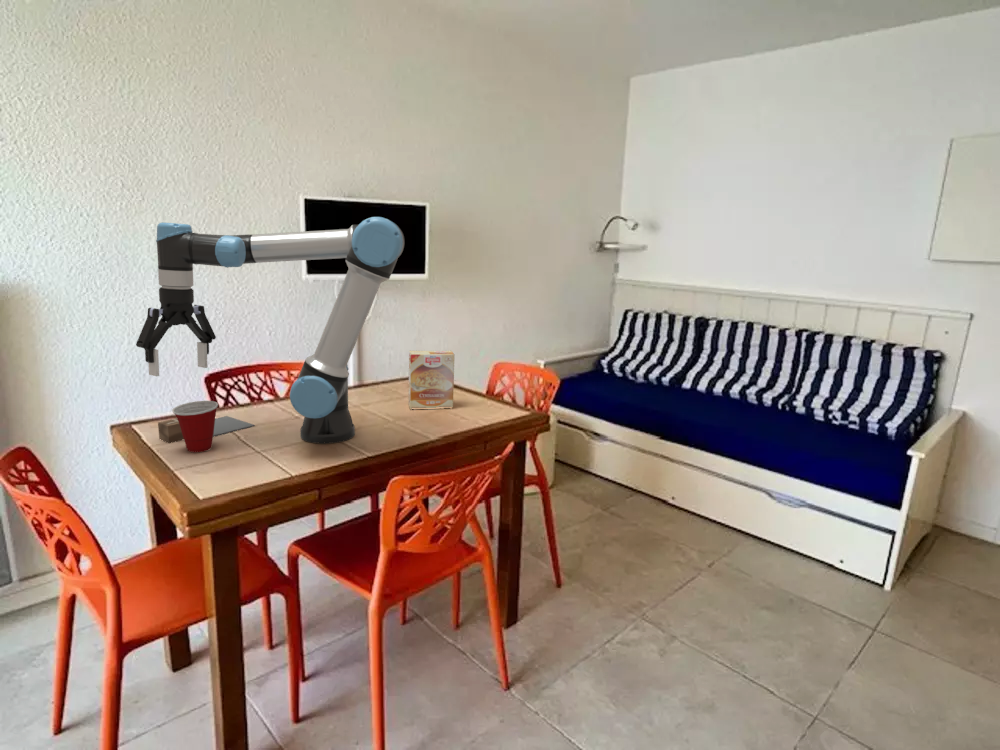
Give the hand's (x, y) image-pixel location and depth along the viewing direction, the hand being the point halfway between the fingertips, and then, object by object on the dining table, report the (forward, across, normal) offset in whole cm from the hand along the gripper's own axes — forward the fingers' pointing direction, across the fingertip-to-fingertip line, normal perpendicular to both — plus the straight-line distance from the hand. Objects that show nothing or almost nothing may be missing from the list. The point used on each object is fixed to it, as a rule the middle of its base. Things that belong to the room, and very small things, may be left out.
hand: (179, 371), depth 150 cm
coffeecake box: (+19, -71, +32) cm, 81 cm away
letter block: (+22, -5, -10) cm, 24 cm away
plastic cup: (+22, -3, +2) cm, 22 cm away
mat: (+21, -19, -8) cm, 30 cm away
